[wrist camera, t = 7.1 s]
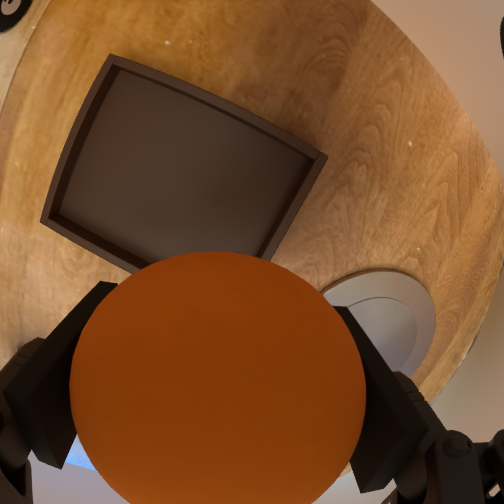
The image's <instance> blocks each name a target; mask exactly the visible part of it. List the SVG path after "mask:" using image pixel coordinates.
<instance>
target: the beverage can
mask: <svg viewBox="0 0 504 504" xmlns="http://www.w3.org/2000/svg"><path fill="white" fill-rule="evenodd" d="M29 2H30V0H0V32H3V31H5V30H7V29H8V28H10V27H11V26H13V25H14V24H15V23H16V22H17V21H18V20H19V19H20V18H21V17H22V15H23V14H24V12H25V11H26V9H27V7H28V5H29Z"/></svg>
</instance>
